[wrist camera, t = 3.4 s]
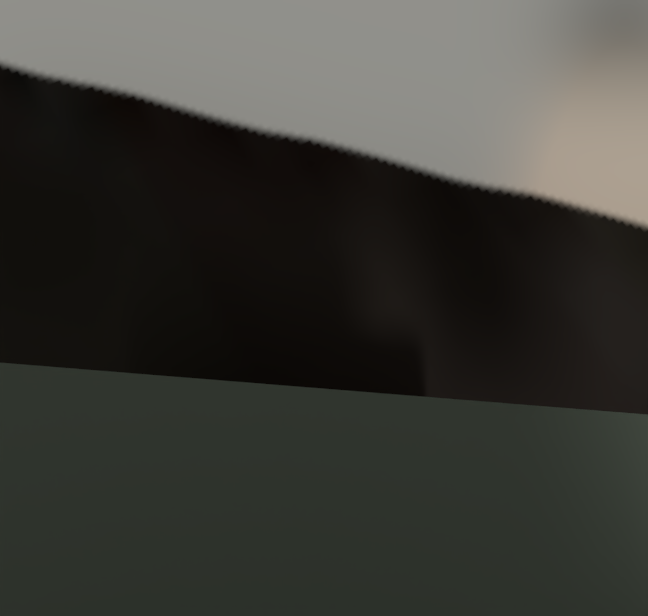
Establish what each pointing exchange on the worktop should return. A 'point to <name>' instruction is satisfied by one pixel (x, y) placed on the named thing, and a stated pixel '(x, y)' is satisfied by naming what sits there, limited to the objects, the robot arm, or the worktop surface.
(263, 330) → the worktop surface
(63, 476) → the panel
